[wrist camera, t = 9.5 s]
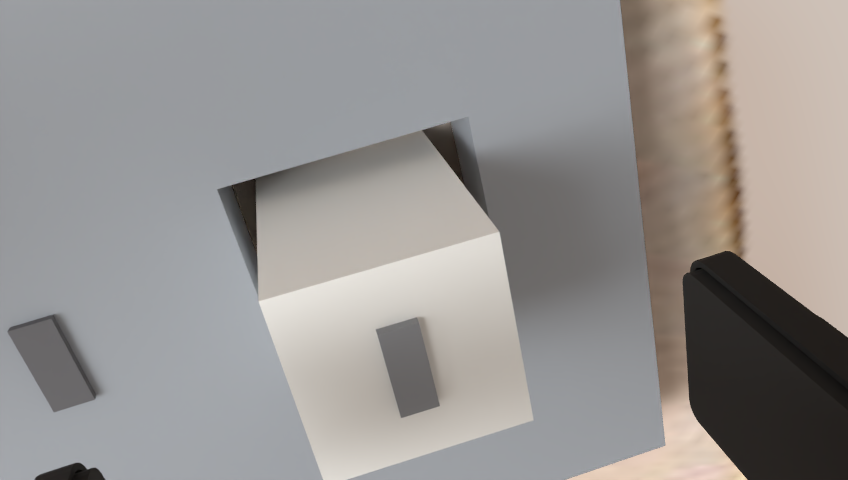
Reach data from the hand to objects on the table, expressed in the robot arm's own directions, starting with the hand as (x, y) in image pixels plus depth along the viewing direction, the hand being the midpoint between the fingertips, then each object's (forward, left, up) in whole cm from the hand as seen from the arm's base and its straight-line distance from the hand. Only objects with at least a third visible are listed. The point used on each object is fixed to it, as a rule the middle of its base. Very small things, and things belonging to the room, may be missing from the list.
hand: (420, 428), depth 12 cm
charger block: (+1, 0, -10) cm, 10 cm away
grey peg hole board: (+1, -3, -10) cm, 10 cm away
